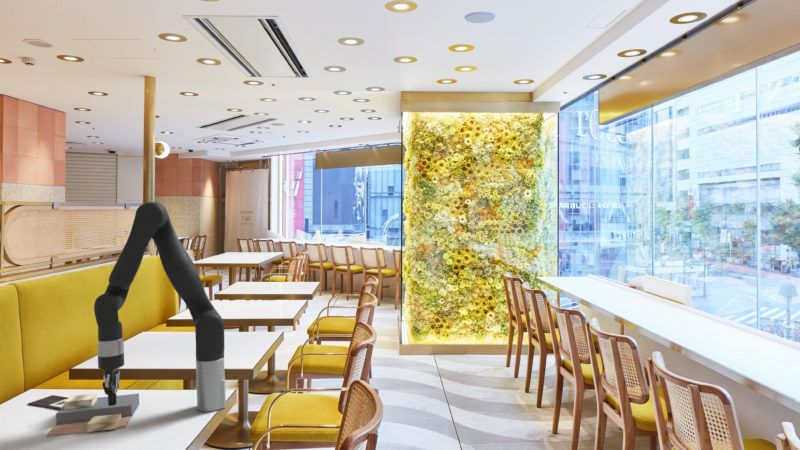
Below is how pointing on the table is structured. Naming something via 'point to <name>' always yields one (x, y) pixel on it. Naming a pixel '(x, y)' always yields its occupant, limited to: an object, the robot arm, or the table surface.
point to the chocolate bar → (50, 402)
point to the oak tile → (104, 422)
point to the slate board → (99, 409)
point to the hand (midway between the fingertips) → (112, 404)
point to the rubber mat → (79, 427)
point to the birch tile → (80, 401)
